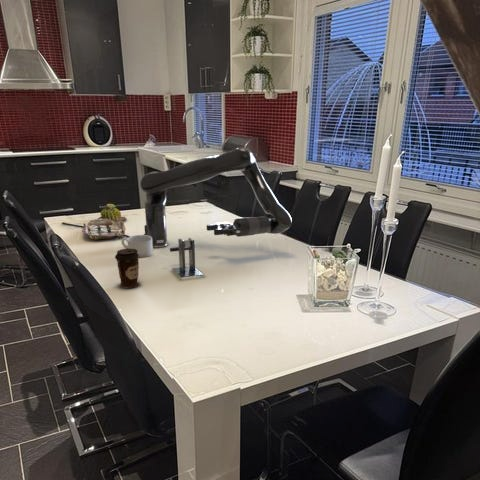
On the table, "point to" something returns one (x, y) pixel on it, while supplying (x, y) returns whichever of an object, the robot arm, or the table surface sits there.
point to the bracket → (190, 269)
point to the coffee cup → (128, 267)
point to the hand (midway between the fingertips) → (210, 230)
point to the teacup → (139, 244)
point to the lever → (186, 245)
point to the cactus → (111, 213)
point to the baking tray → (103, 229)
